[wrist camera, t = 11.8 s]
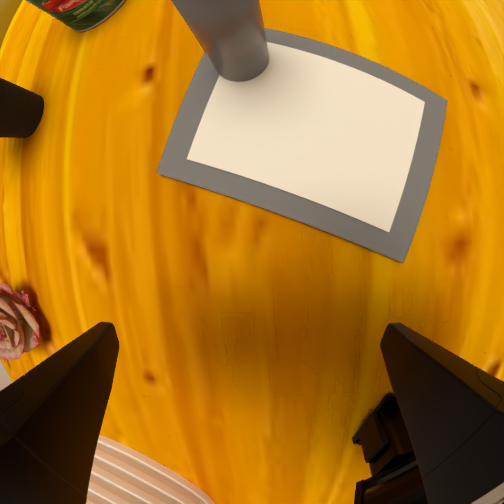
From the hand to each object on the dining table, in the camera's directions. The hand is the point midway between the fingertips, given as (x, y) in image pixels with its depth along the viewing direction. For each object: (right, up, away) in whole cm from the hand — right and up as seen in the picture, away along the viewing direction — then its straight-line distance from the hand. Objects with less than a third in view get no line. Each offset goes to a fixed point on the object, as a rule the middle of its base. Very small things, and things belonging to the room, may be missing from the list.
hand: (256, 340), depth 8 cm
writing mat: (+4, +11, +9) cm, 15 cm away
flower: (-26, -4, +15) cm, 30 cm away
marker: (-1, +16, +7) cm, 17 cm away
